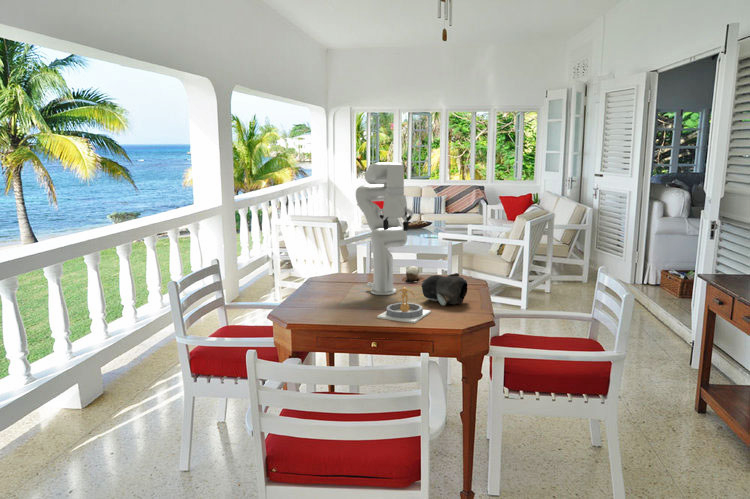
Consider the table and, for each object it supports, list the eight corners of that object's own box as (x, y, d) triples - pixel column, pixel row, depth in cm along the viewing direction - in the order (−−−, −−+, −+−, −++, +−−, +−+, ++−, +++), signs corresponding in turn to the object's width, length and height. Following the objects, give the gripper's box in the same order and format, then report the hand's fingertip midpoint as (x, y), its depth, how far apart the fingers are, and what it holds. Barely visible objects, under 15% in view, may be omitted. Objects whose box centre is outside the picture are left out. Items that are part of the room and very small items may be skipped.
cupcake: (404, 275, 313) (416, 261, 309) (417, 288, 311) (430, 275, 307) (397, 279, 301) (409, 265, 298) (411, 293, 300) (423, 279, 296)
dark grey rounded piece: (459, 319, 251) (457, 296, 244) (415, 312, 260) (411, 289, 252) (471, 291, 265) (469, 268, 258) (428, 285, 274) (426, 263, 266)
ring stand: (377, 317, 237) (377, 310, 236) (395, 307, 252) (395, 300, 251) (414, 323, 229) (414, 315, 229) (431, 312, 244) (431, 304, 243)
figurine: (414, 311, 243) (414, 283, 241) (414, 315, 237) (414, 287, 235) (395, 311, 244) (395, 283, 242) (394, 315, 238) (394, 287, 236)
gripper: (374, 191, 253) (374, 230, 256) (409, 192, 245) (409, 232, 248) (381, 190, 259) (382, 228, 262) (416, 191, 251) (417, 229, 254)
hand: (395, 230), depth 255 cm, fingers open, 9 cm apart
